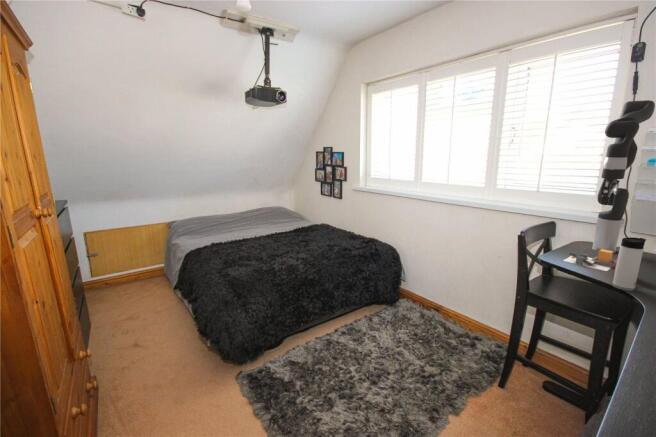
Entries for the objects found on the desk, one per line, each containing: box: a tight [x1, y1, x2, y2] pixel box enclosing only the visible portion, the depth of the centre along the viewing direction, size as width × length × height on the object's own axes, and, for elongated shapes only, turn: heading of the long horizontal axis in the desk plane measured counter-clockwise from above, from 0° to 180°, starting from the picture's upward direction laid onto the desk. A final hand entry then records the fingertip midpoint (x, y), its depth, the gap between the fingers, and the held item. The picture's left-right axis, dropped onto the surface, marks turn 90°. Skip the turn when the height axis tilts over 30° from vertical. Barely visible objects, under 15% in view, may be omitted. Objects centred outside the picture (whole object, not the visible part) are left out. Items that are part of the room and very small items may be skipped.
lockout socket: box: [591, 255, 617, 269], centre depth 142 cm, size 8×8×2 cm
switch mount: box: [575, 253, 589, 266], centre depth 143 cm, size 6×2×3 cm, turn 126°
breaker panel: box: [562, 255, 611, 272], centre depth 144 cm, size 15×16×2 cm
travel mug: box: [612, 236, 647, 292], centre depth 118 cm, size 6×7×20 cm
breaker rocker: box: [569, 250, 595, 266], centre depth 143 cm, size 4×9×1 cm, turn 36°
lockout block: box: [597, 249, 614, 264], centre depth 141 cm, size 4×4×6 cm
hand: (607, 203), depth 141 cm, fingers open, 8 cm apart
